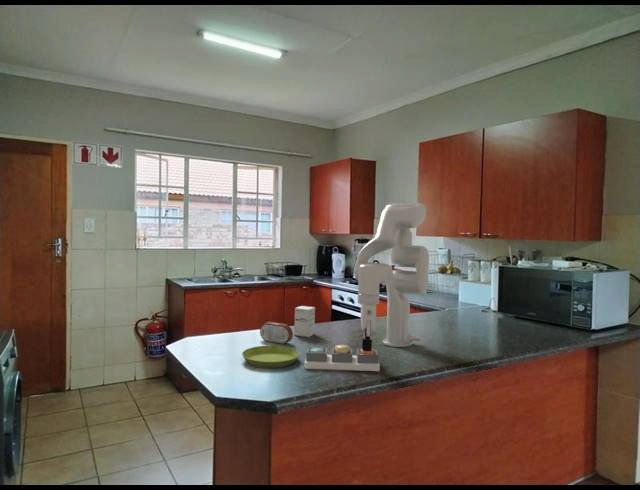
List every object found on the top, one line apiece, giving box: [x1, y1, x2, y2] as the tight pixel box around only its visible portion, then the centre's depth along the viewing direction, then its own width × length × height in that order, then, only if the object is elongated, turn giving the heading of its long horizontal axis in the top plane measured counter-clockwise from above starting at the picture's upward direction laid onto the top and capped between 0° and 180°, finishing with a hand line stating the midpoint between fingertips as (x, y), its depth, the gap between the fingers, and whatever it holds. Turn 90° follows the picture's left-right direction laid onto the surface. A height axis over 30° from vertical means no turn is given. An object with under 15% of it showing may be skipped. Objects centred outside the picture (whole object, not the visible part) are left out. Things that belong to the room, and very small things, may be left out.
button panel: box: [303, 346, 381, 372], centre depth 156 cm, size 26×11×5 cm, turn 87°
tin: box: [259, 321, 294, 345], centre depth 186 cm, size 15×3×8 cm, turn 65°
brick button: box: [359, 348, 374, 354], centre depth 156 cm, size 5×5×3 cm
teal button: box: [310, 347, 324, 353], centre depth 157 cm, size 5×5×3 cm
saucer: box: [241, 345, 300, 369], centre depth 160 cm, size 21×21×3 cm
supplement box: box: [293, 305, 316, 338], centre depth 200 cm, size 7×7×13 cm
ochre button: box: [334, 344, 350, 354], centre depth 156 cm, size 5×5×3 cm
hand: (366, 350), depth 155 cm, fingers closed
